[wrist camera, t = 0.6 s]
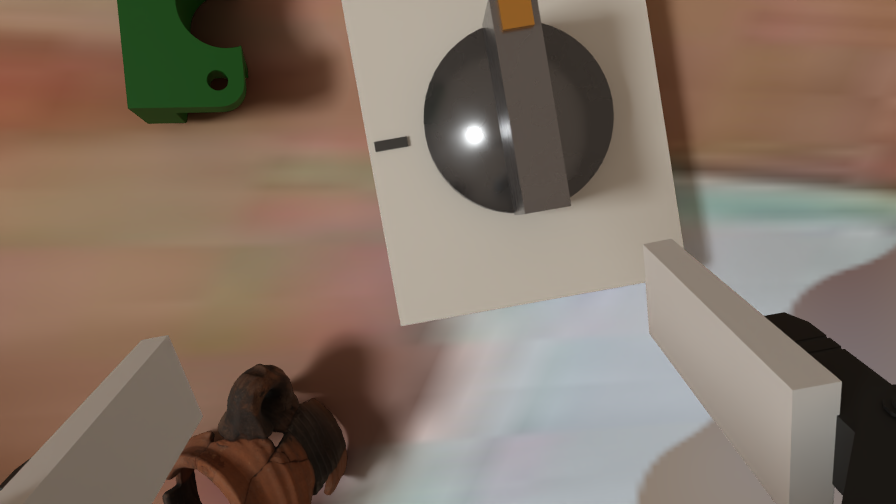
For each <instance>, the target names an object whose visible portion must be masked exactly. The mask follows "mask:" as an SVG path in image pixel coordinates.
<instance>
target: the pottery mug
mask: <svg viewBox="0 0 896 504" xmlns="http://www.w3.org/2000/svg"><path fill="white" fill-rule="evenodd" d="M218 431H219V433H220V435H221V436H223V437H224V439H223V440H219V441H217V442H213V441H214V433H213V432H212V431H207V432H205V433H201V434H199V435H196V436H193V437H192V438H190V439H189V441H188V443H187V444H186V446H185V448H184V449H183V451H182V453H181V454H180V456H179V458H178V460H177V461H176V463H175V465H174V466H173V468H172V470H171V471H170V473H169V475H168V477H167V478H166V479H167V480H170V479H172V478H174V477H176V482H177V484H176V485H175V486H174V487H173V488H172V489H170V490H168V491H167V492H165V493H164V495H163V502H164V504H202V503H201V501H200V498H199V495H198V491H197V486H196V480H195V473H194V469H197V470H199V471H200V472H201V473H202V474H204V475H205V476H207V477H208V478H209V479H210V480H211V481H212V482H213V483H214V484H215V485H216V486H217V487H218V488H219V489H220V490H221V491H222V492H223V494H224V495H225V496H226V498H227V499H228V501H229V502H230V504H311V500H312V496H313V495H316V494H317V493H318V492H319V490H320V489H321V488H322V487H323V484H324V483H325V482H326V485H325V490H324V493H325V494H326V495H331V494H332V493H333V492H334V490H335V489H336V487H337V485H338V483H339V481H340V478H341V477H342V476H343V474H344V472H345V469H346V465H347V451H346V444H345V440H344V437H343V434H342V431H341V429H340V427H339V426H338V424H337V422H336V419H335V418H334V417H333V415H332V414H331V413H330V411H329V410H327V409H326V408H325V407H324V406H323V405H322V404H321V403H320V402H319V401H317V400H316V399H314V398H312V399H310V400H309V401H308V402H304V403H302V404H299V402H298V399H297V397H296V395H295V394H294V393H293V389H292V384H291V381H290V379H289V378H288V376H287V375H286V374H285V373H284V372H283V370H281V369H280V368H278V367H276V366H273V365H262V364H257V365H256V366H254V367H252V368H250V369H249V370H247V371H245V372H244V373H243V374H242V375H241V376H240V377H239V378H238V379H237V380H236V381H235V383H234V385H233V386H232V388H231V391H230V394H229V397H228V403H227V411H226V412H225V414H224V415H223V417H222V419H221V420H220V422H219V424H218ZM272 432H280V433H283V434H284V436H283V438H282V440H281V441H280V443H279V445H278V446H277V447H275V446H274V444H273V442H272V441H271V440H270V439H269V438H268V437H269V436H270V435H271V434H272Z"/></svg>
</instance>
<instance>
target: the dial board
mask: <svg viewBox="0 0 896 504" xmlns="http://www.w3.org/2000/svg"><path fill="white" fill-rule="evenodd" d="M341 1H342V6H343V11H344V17H345V22H346V28H347V33H348V39H349V44H350V50H351V55H352V61H353V66H354V72H355V77H356V83H357V88H358V94H359V99H360V104H361V110H362V115H363V121H364V126H365V132H366V137H367V143H368V148H369V154H370V159H371V165H372V170H373V176H374V181H375V187H376V192H377V197H378V203H379V208H380V214H381V219H382V225H383V230H384V236H385V241H386V247H387V252H388V258H389V263H390V269H391V274H392V280H393V285H394V290H395V296H396V301H397V307H398V312H399V318H400V323H401V326H404V325H410V324H416V323H421V322H427V321H432V320H438V319H444V318H449V317H455V316H460V315H466V314H472V313H477V312H483V311H488V310H494V309H500V308H505V307H511V306H516V305H522V304H527V303H533V302H539V301H544V300H550V299H555V298H561V297H567V296H572V295H578V294H583V293H589V292H595V291H600V290H606V289H611V288H617V287H622V286H628V285H634V284H639V283H645V282H646V280H645V267H644V253H643V244H646V243H651V242H656V241H661V240H667V239H673V240H674V241H675V242H676V243H677V244H679V245H680V246H681V247H682V248H683V249H684V246H683V239H682V233H681V226H680V220H679V213H678V207H677V200H676V194H675V187H674V181H673V175H672V168H671V162H670V155H669V149H668V142H667V136H666V129H665V123H664V116H663V110H662V104H661V97H660V91H659V84H658V78H657V71H656V65H655V58H654V52H653V45H652V39H651V33H650V26H649V20H648V13H647V7H646V0H538V6H539V12H540V18H541V23H543V24H546V25H550V26H553V27H555V28H557V29H559V30H561V31H564V32H565V33H567V34H568V35H570V36H572V37H573V38H575V39H576V40H577V41H578V42H579V43H581V44H582V45H583V46H584V47H585V48H586V49H587V50H588V51H589V52H590V53H591V54H592V56H593V57H594V58H595V60H596V61H597V63H598V64H599V66H600V67H601V69H602V71H603V73H604V75H605V77H606V80H607V82H608V85H609V88H610V91H611V96H612V100H613V110H614V123H613V132H612V138H611V141H610V145H609V148H608V151H607V153H606V156H605V158H604V160H603V162H602V164H601V165H600V167H599V169H598V170H597V172H596V173H595V175H594V176H593V177H592V178H591V180H590V181H589V182H588V183H587V184H586V185H585V186H584V187H583V188H582V189H581V190H580V191H578V192H577V193H576V194H574V195H573V196H572V197H570V200H571V206H568V207H563V208H557V209H551V210H546V211H540V212H534V213H529V214H522V215H514V213H502V212H496V211H492V210H489V209H485V208H483V207H480V206H478V205H476V204H474V203H472V202H470V201H469V200H467V199H465V198H464V197H462V196H461V195H460V194H458V193H457V192H456V191H455V190H454V189H453V188H452V187H451V186H450V185H449V184H448V183H447V182H446V181H445V180H444V178H443V177H442V176H441V174H440V173H439V171H438V170H437V168H436V166H435V164H434V162H433V160H432V158H431V155H430V153H429V150H428V146H427V142H426V138H425V130H424V104H425V97H426V93H427V90H428V86H429V83H430V81H431V79H432V76H433V74H434V72H435V70H436V69H437V67H438V65H439V64H440V62H441V61H442V59H443V58H444V57H445V55H446V54H447V53H448V52H449V51H450V50H451V49H452V48H453V47H454V46H455V45H456V44H457V43H458V42H459V41H461V40H462V39H463V38H465V37H466V36H467V35H469V34H471V33H473V32H475V31H476V30H478V29H481V28H483V27H482V24H483V19H484V15H485V11H486V6H487V2H488V0H341Z"/></svg>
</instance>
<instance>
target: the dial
mask: <svg viewBox="0 0 896 504" xmlns="http://www.w3.org/2000/svg"><path fill="white" fill-rule="evenodd" d="M482 27H483V28H481V29H478V30H476V31H475V32H473V33H471V34H469V35H467V36H466V37H465V38H463V39H462V40H461V41H459V42H458V43H457V44H456V45H455V46H454V47H453V48H452V49H451V50H450V51H449V52H448V53H447V54H446V55H445V57H444V58H443V59H442V61H441V62H440V64H439V65H438V67H437V69H436V70H435V72H434V74H433V76H432V79H431V81H430V83H429V86H428V90H427V93H426V97H425V104H424V130H425V138H426V142H427V146H428V150H429V153H430V155H431V158H432V160H433V162H434V164H435V166H436V168H437V170H438V171H439V173H440V174H441V176H442V177H443V178H444V180H445V181H446V182H447V183H448V184H449V185H450V186H451V187H452V188H453V189H454V190H455V191H456V192H457V193H458V194H460V195H461V196H462V197H464V198H465V199H467V200H469V201H470V202H472V203H474V204H476V205H478V206H480V207H483V208H485V209H489V210H492V211H496V212H502V213H514V215H522V214H529V213H534V212H540V211H546V210H551V209H557V208H563V207H568V206H571V200H570V197H572V196H573V195H574V194H576V193H577V192H578V191H580V190H581V189H582V188H583V187H584V186H585V185H586V184H587V183H588V182H589V181H590V180H591V178H592V177H593V176H594V175H595V173H596V172H597V170H598V169H599V167H600V165H601V164H602V162H603V160H604V158H605V156H606V153H607V151H608V148H609V145H610V141H611V138H612V132H613V123H614V110H613V100H612V96H611V91H610V88H609V85H608V82H607V80H606V77H605V75H604V73H603V71H602V69H601V67H600V66H599V64H598V63H597V61H596V60H595V58H594V57H593V56H592V54H591V53H590V52H589V51H588V50H587V49H586V48H585V47H584V46H583V45H582V44H581V43H579V42H578V41H577V40H576V39H575V38H573V37H572V36H570V35H568V34H567V33H565V32H564V31H561V30H559V29H557V28H555V27H553V26H550V25H546V24H543V23H541V18H540V12H539V6H538V0H488V2H487V6H486V11H485V15H484V19H483V24H482Z"/></svg>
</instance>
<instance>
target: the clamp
mask: <svg viewBox="0 0 896 504" xmlns="http://www.w3.org/2000/svg"><path fill="white" fill-rule="evenodd" d="M205 1H206V0H117V4H118V14H119V24H120V34H121V44H122V54H123V64H124V74H125V84H126V94H127V104H128V109H130V110H131V111H132V112H133V113H135V114H136V115H137V116H139V117H140V118H141V119H143V120H144V121H145V122H147V123H148V124H156V123H186V122H187V116H188V113H199V112H228V111H231V110H234V109H236V108H237V107H238V106H240V105H241V103H242V102H243V100H244V98H245V96H246V79H245V78H248V69H247V65H246V62H245V58H244V55H243V51H242V47H241V46H239V47H234V48H218V47H214V46H210V45H208V44H205V43H203V42H201V41H200V40H198V39H197V38H195V37H194V36H193V35H192V34H191V33H190V26H191V20H192V17H193V15H194V13H195V11H196V10H197V8H198V7H199V6H200V5H201V4H202V3H203V2H205ZM214 78H226V79H227V80H228V85H227V87H226V88H225V89H223V90H219V91H218V90H214V89H212V88H210V84H211V81H212V80H213V79H214Z"/></svg>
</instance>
